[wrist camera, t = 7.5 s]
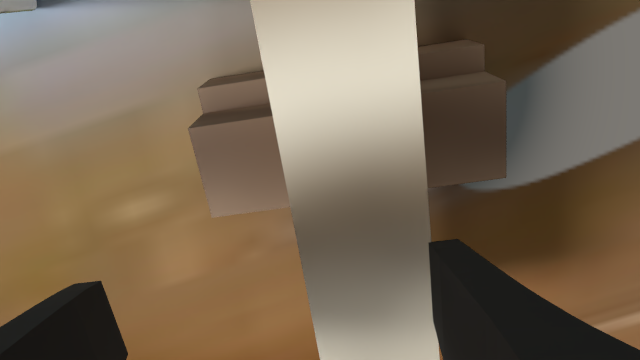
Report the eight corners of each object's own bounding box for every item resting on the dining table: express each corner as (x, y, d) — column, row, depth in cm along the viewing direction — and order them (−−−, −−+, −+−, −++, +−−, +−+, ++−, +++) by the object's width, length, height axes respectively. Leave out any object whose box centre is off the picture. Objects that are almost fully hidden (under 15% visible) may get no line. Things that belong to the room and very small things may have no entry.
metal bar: (414, 343, 18) (447, 466, 13) (338, 351, 18) (343, 476, 13) (368, -144, 12) (397, -233, 7) (254, -123, 12) (211, -197, 7)
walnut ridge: (470, 162, 19) (506, 202, 15) (237, 194, 20) (217, 240, 16) (467, 39, 17) (506, 50, 14) (210, 79, 18) (180, 100, 14)
